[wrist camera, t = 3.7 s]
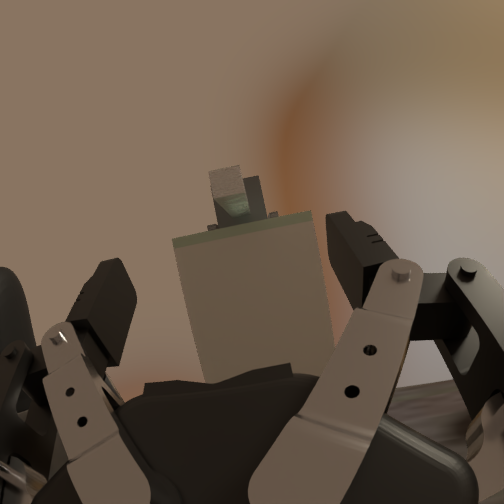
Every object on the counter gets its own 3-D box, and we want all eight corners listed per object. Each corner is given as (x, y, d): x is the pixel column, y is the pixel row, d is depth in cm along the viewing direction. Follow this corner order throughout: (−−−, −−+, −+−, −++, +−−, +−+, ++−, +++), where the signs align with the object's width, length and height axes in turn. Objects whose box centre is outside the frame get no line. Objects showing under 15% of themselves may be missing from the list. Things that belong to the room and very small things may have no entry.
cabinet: (347, 468, 31) (308, 198, 30) (239, 487, 32) (169, 227, 31) (325, 411, 47) (291, 213, 46) (244, 426, 47) (199, 232, 47)
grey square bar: (276, 207, 22) (258, 127, 21) (191, 225, 22) (177, 145, 22) (266, 226, 46) (258, 187, 46) (226, 234, 46) (218, 195, 46)
